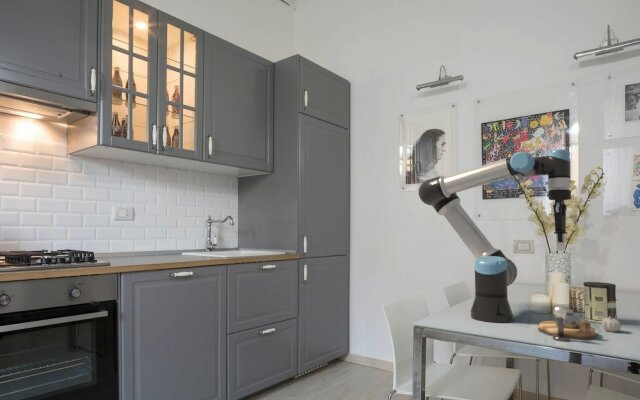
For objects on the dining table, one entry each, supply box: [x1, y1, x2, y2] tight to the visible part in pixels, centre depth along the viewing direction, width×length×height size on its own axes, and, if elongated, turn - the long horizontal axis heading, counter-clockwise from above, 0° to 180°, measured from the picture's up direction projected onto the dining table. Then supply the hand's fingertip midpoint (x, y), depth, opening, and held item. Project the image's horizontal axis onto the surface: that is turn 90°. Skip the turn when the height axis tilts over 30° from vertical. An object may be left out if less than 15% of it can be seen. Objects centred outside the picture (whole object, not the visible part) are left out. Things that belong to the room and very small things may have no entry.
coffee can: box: [583, 281, 618, 324], centre depth 157 cm, size 10×10×14 cm
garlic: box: [601, 316, 622, 333], centre depth 141 cm, size 6×5×5 cm
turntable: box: [538, 320, 596, 338], centre depth 138 cm, size 16×16×5 cm
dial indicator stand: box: [552, 306, 570, 342], centre depth 131 cm, size 4×7×10 cm, turn 141°
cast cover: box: [555, 308, 581, 329], centre depth 138 cm, size 7×7×6 cm
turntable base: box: [537, 326, 598, 341], centre depth 138 cm, size 17×17×1 cm
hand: (561, 250), depth 158 cm, fingers closed
